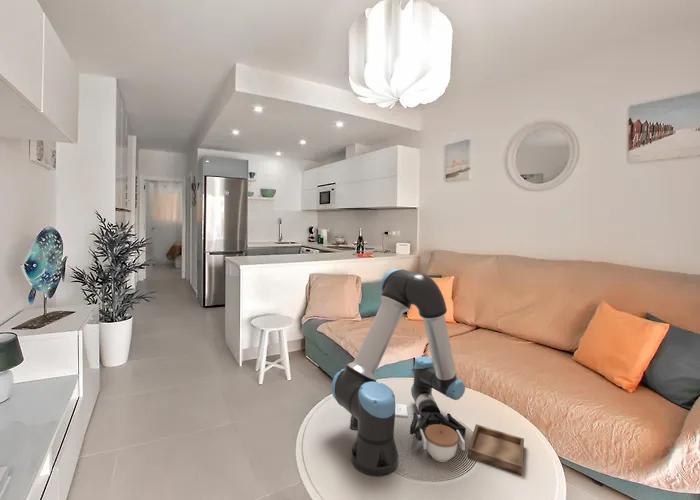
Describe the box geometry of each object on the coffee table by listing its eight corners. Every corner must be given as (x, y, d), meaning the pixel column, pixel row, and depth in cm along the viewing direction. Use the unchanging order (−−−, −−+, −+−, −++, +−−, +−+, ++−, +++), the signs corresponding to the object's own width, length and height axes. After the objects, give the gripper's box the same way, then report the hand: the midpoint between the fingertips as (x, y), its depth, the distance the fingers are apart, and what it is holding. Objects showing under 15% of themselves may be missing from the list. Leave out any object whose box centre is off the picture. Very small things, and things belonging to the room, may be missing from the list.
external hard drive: (376, 405, 144) (406, 407, 143) (376, 416, 136) (407, 419, 134) (377, 401, 144) (406, 404, 142) (376, 412, 136) (407, 415, 134)
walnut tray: (467, 457, 113) (468, 448, 112) (475, 431, 127) (475, 424, 126) (521, 476, 105) (522, 466, 105) (523, 446, 119) (524, 438, 119)
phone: (350, 427, 126) (352, 405, 140) (350, 430, 126) (352, 408, 141) (371, 429, 125) (371, 406, 140) (371, 432, 125) (371, 409, 140)
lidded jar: (418, 446, 117) (420, 420, 117) (447, 443, 119) (449, 418, 118) (431, 468, 107) (433, 440, 106) (463, 465, 109) (465, 437, 108)
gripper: (458, 418, 131) (480, 457, 109) (396, 417, 131) (406, 456, 109) (459, 399, 130) (482, 435, 109) (397, 398, 130) (407, 433, 108)
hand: (444, 445), depth 109 cm, fingers open, 12 cm apart
